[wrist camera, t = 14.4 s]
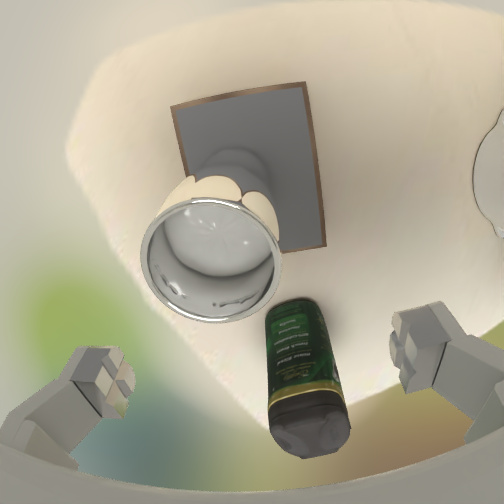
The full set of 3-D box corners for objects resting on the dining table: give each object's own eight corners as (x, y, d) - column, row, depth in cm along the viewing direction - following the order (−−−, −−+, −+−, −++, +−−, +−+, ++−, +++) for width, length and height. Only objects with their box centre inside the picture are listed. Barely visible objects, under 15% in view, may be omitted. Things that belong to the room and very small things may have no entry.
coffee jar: (256, 308, 40) (257, 433, 23) (315, 290, 39) (347, 412, 22) (279, 356, 44) (287, 469, 27) (330, 341, 43) (358, 452, 26)
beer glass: (191, 147, 26) (120, 202, 12) (271, 139, 25) (283, 187, 12) (201, 220, 29) (155, 327, 16) (275, 215, 28) (287, 324, 15)
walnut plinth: (297, 85, 28) (306, 81, 23) (317, 227, 35) (327, 248, 30) (182, 106, 29) (168, 106, 24) (214, 244, 36) (208, 266, 31)
